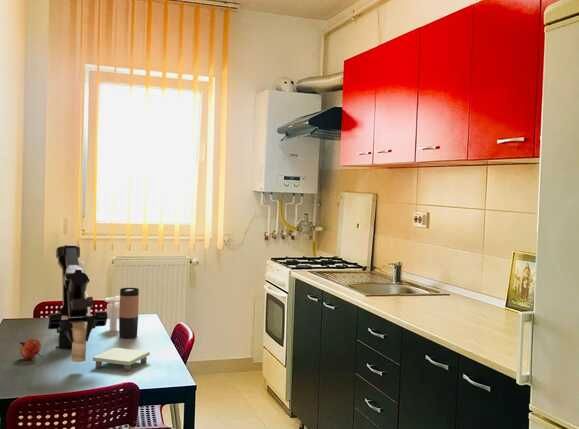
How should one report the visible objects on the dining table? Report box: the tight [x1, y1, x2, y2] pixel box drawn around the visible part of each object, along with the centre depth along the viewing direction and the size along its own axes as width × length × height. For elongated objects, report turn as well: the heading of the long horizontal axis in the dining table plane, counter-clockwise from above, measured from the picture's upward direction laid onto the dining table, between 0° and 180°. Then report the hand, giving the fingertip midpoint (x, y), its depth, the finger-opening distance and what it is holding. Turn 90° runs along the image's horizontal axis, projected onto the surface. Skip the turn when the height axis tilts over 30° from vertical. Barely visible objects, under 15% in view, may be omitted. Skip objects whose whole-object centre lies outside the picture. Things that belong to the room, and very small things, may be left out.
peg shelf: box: [92, 347, 151, 373], centre depth 210 cm, size 14×14×4 cm
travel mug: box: [118, 287, 140, 340], centre depth 251 cm, size 8×8×20 cm
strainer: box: [104, 295, 120, 332], centre depth 262 cm, size 7×7×15 cm
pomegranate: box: [19, 338, 44, 361], centre depth 214 cm, size 7×7×10 cm
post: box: [71, 322, 87, 363], centre depth 201 cm, size 4×4×12 cm
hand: (79, 341), depth 200 cm, fingers closed on post, 4 cm apart
